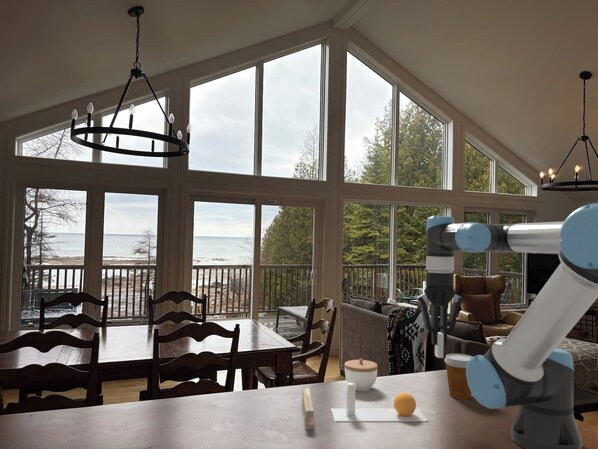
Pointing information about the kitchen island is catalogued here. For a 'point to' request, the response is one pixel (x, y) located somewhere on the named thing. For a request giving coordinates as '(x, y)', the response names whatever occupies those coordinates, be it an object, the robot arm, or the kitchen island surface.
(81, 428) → the kitchen island surface
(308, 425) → the backstop
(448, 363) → the disposable coffee cup
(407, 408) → the ball
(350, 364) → the lidded jar
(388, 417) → the plate
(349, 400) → the pin
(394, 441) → the kitchen island surface
